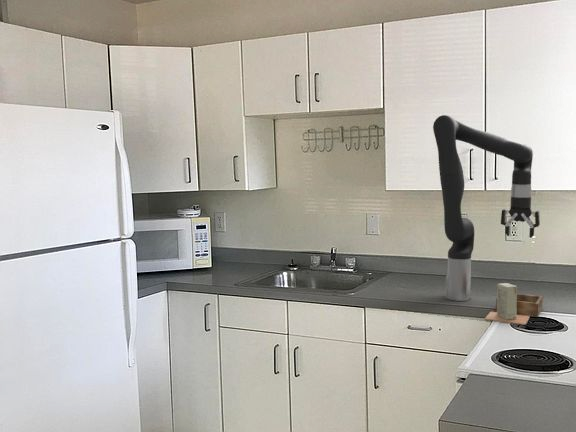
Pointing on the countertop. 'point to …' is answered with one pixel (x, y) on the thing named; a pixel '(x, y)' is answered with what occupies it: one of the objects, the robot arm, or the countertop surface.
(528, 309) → the frame
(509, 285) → the skincare box
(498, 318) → the terracotta tile
